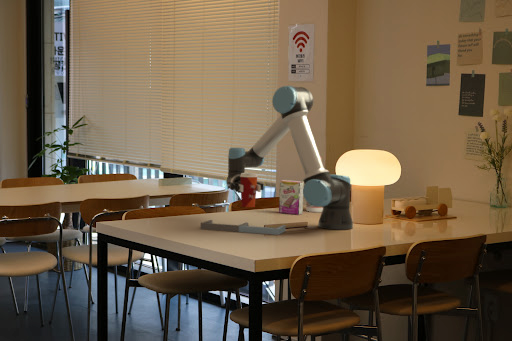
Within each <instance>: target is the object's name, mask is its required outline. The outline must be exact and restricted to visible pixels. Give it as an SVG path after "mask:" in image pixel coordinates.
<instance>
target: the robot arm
mask: <svg viewBox="0 0 512 341" xmlns="http://www.w3.org/2000/svg"><path fill="white" fill-rule="evenodd" d="M271 101H272V102H271V103H272V107H273V108H274V110H275V111H276V112H277V113H279V114H280V116H278V118H277V119H276V120H274V122H273V123H272V124H271V126H270V127H269V128H267V130H266V131H265V132H264V133H263V134H262V136H261V137H260V138H258V140H257V142H255V143H254V144H253V146H251V148H250V149H249V150H248V151H246V149H245V148H244V147H230V148H228V155H227V157H228V158H227V159H228V162H227V163H228V164H227V165H228V169H227V170H228V171H227V177H226V185H227V189H230V190H231V191H235V193H238V194H239V193H240V194H241V192H243V185H241V177H240V176H241V173H246V172H245V171H246V170H245V169H247V168H258V167H261V166H262V165H263V164H264V162H265V157H266V156H268V154H269V153H270V152H271V151H272V150H273V149H274V147H276V146H277V144H278V143H279V142H280V141H281V140H282V139H283V138H284V137H285V136H286V135H287V133H288V132H290V135H291V137H292V141H293V143H294V145H295V148H296V149H295V150H296V152H297V155H298V157H299V158H298V159H299V161H300V164H301V167H302V169H303V173H304V177H303V180H302V182H304V187H303V199H304V200H305V201H306V202H308V203H309V204H310V205H312V206H315V207H323V211H322V212H320V213H321V214H320V216H319V219H318V223H317V224H318V228H322V229H327V230H350V229H353V228H354V221H353V218H352V215H351V212H350V202H351V186H352V184H351V178H350V177H349V176H347V175H342V174H341V175H339V174H331V173H330V171H329V170H328V169H326V168H325V167H324V164H323V161H322V160H321V158H320V157H321V155H320V152H319V148H318V146H317V144H316V141H315V137H314V134H313V132H312V129H311V126H310V124H309V120H308V117H307V116H308V114H309V113H310V111H311V110H312V108H313V106H314V96H313V94H312V92H311V91H310V90H309V89H307V88H306V87H302V86H292V85H284V86H279V88H278V89H276V91H275V92H274V93H273V96H272V100H271ZM261 191H264V183H260V182H258V181H257V187H256V192H258V193H261Z"/></svg>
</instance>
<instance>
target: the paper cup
mask: <svg viewBox="0 0 512 341" xmlns="http://www.w3.org/2000/svg"><path fill="white" fill-rule="evenodd" d="M240 177H241V185H243V192H241V193H240V199H241V200H240V202H241V207H242V208H255V207H256V198H257V197H256V196H257V191H256V187H257V182H258V177H259V176H258V174H257V173H255V172H245V173H241V176H240Z"/></svg>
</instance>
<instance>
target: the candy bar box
mask: <svg viewBox="0 0 512 341" xmlns="http://www.w3.org/2000/svg"><path fill="white" fill-rule="evenodd" d="M304 185H305V184H304V181H303V180H302V181H298V180H289V179H282V180H280V181H279V197H278V198H279V199H278V200H279V201H278V202H279V204H278V213H279V214H285V215H286V214H287V215H297V216H300V215H303V212H304V211H303V207H304V206H303V205H304V196H303V189H304Z"/></svg>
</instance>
